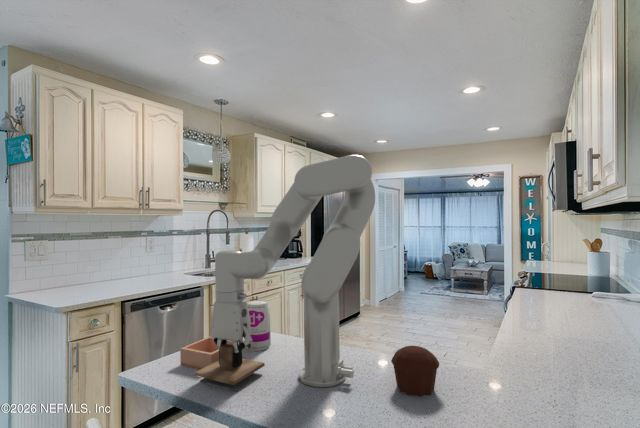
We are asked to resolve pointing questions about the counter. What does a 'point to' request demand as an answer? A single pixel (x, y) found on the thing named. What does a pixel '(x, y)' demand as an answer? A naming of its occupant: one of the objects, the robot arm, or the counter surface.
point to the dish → (200, 353)
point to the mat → (237, 386)
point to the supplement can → (259, 325)
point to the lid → (229, 367)
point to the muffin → (415, 370)
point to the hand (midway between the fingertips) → (230, 363)
